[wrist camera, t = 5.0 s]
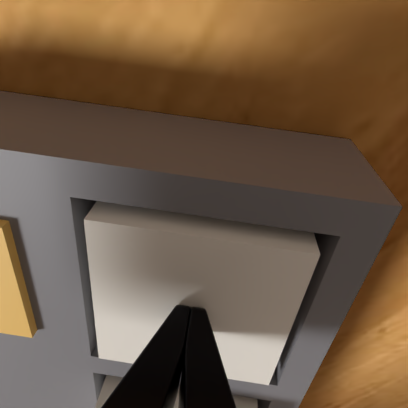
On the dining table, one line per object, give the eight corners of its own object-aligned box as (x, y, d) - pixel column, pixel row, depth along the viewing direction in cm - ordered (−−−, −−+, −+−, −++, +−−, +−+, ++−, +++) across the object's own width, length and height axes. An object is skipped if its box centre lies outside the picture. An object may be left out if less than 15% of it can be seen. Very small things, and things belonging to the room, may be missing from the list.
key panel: (234, 453, 23) (233, 538, 19) (38, 421, 23) (0, 499, 20) (350, 139, 10) (408, 214, 7) (-77, 80, 11) (-239, 121, 7)
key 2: (122, 299, 13) (98, 358, 11) (117, 172, 10) (83, 219, 8) (264, 321, 13) (268, 385, 11) (303, 198, 10) (320, 254, 8)
